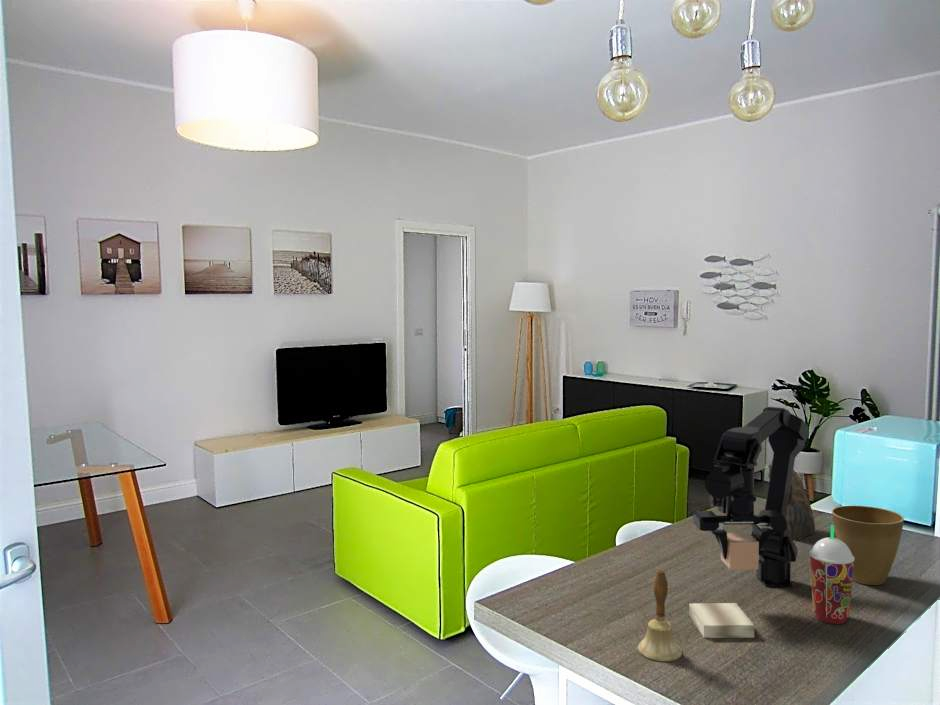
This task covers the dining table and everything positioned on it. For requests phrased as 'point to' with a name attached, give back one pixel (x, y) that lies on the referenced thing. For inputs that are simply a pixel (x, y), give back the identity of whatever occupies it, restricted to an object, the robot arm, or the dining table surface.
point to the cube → (741, 552)
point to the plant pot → (869, 540)
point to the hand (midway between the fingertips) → (739, 558)
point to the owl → (798, 509)
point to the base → (721, 620)
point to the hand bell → (660, 628)
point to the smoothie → (831, 579)
